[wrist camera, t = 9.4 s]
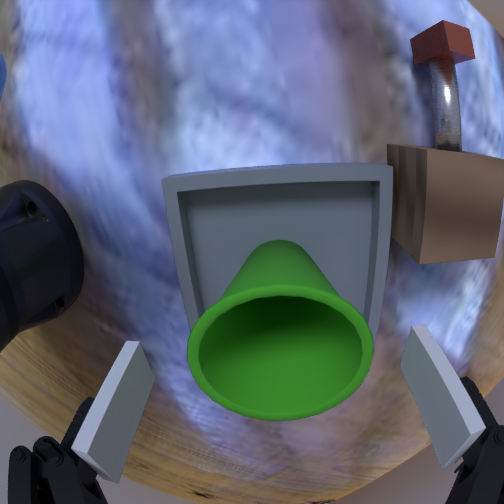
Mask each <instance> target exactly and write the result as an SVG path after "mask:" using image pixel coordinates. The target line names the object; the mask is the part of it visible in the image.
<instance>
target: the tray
mask: <svg viewBox="0 0 504 504" xmlns="http://www.w3.org/2000/svg"><path fill="white" fill-rule="evenodd" d="M162 187H163V194H164V200H165V207H166V213H167V219H168V225H169V231H170V237H171V242H172V248H173V253H174V258H175V263H176V269H177V273H178V278H179V283H180V288H181V293H182V297H183V302H184V306H185V310H186V315H187V319H188V323H189V327H190V332H191V331H192V329H193V326H194V324H195V323H196V322H197V320H198V319H199V318H200V317H201V316H202V315H203V313H204V312H205V311H206V310H207V309H208V308H209V307H211V306H212V305H214V304H215V303H217V302H218V301H219V300H220V298H221V297H222V295H223V294H224V292H225V291H226V289H227V288H228V286H229V285H230V283H231V282H232V280H233V279H234V277H235V276H236V275H237V273H238V272H239V270H240V269H241V267H242V266H243V264H244V263H245V261H246V260H247V258H248V257H249V255H250V254H251V253H252V252H253V250H254V249H255V248H257V247H258V246H259V245H261V244H263V243H265V242H268V241H271V240H278V239H279V240H288V241H291V242H294V243H296V244H298V245H299V246H301V247H302V248H303V249H304V250H305V251H306V252H307V253H308V254H309V255H310V257H311V258H312V259H313V261H314V262H315V263H316V265H317V266H318V267H319V269H320V270H321V271H322V273H323V274H324V275H325V277H326V278H327V279H328V281H329V282H330V283H331V285H332V286H333V287H334V289H335V290H336V292H337V293H338V294H339V296H340V297H341V298H342V299H344V300H346V301H348V302H349V303H351V304H352V305H353V306H354V307H355V308H356V309H357V310H358V311H359V312H360V314H361V315H362V316H363V317H364V318H365V319H366V322H367V324H368V326H369V328H370V330H371V333H372V335H373V346H374V348H375V343H376V338H377V333H378V327H379V322H380V316H381V310H382V304H383V297H384V290H385V283H386V275H387V266H388V257H389V247H390V234H391V220H392V198H393V166H389V165H386V164H382V163H314V164H289V165H270V166H255V167H242V168H231V169H220V170H210V171H201V172H192V173H184V174H176V175H171V176H169V177H166V178H164V179H162Z"/></svg>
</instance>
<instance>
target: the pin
mask: <svg viewBox="0 0 504 504" xmlns="http://www.w3.org/2000/svg"><path fill="white" fill-rule="evenodd" d="M410 42H411V47H412V53H413V60H414V65H419V66H424V67H429V68H430V75H431V84H432V93H433V104H434V119H435V149H439V150H445V151H454V152H462V139H461V115H460V101H459V91H458V82H457V75H456V68H455V64H457V63H460V62H464V61H468V60H471V59H475V54H474V49H473V44H472V39H471V35H470V31H469V29H468V28H465V27H462V26H459V25H457V24H454V23H451V22H447V21H444V20H442V21H440V22H439V23H437V24H435V25H433V26H432V27H430V28H428V29H426V30H425V31H423V32H421V33H420V34H418V35H416V36H415V37H413V38H411V39H410Z"/></svg>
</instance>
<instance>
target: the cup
mask: <svg viewBox="0 0 504 504" xmlns="http://www.w3.org/2000/svg"><path fill="white" fill-rule="evenodd" d="M373 353H374V346H373V335H372V333H371V330H370V328H369V326H368V324H367V322H366V319H365V318H364V317H363V316H362V315H361V314H360V312H359V311H358V310H357V309H356V308H355V307H354V306H353V305H352V304H351V303H349V302H348V301H346V300H344V299H342V298H341V297H340V296H339V294H338V293H337V292H336V290H335V289H334V287H333V286H332V285H331V283H330V282H329V281H328V279H327V278H326V277H325V275H324V274H323V273H322V271H321V270H320V269H319V267H318V266H317V265H316V263H315V262H314V261H313V259H312V258H311V257H310V255H309V254H308V253H307V252H306V251H305V250H304V249H303V248H302V247H301V246H299V245H298V244H296V243H294V242H291V241H288V240H279V239H278V240H271V241H268V242H265V243H263V244H261V245H259V246H258V247H257V248H255V249H254V250H253V252H252V253H251V254H250V255H249V257H248V258H247V260H246V261H245V263H244V264H243V266H242V267H241V269H240V270H239V272H238V273H237V275H236V276H235V277H234V279H233V280H232V282H231V283H230V285H229V286H228V288H227V289H226V291H225V292H224V294H223V295H222V297H221V298H220V300H219V301H218V302H217V303H215V304H214V305H212V306H211V307H209V308H208V309H207V310H206V311H205V312H204V313H203V315H202V316H201V317H200V318H199V319H198V320H197V322H196V323H195V324H194V326H193V329H192V331H191V334H190V336H189V339H188V346H187V358H188V362H189V366H190V369H191V373H192V376H193V377H194V379H195V380H196V382H197V384H198V385H199V387H200V388H201V389H202V390H203V391H204V392H205V393H206V394H207V395H208V396H209V397H210V398H211V399H212V400H213V401H215V402H216V403H218V404H220V405H221V406H223V407H224V408H226V409H228V410H230V411H233V412H235V413H238V414H240V415H243V416H246V417H251V418H256V419H260V420H272V421H286V420H296V419H302V418H306V417H310V416H314V415H317V414H320V413H322V412H324V411H327V410H329V409H331V408H333V407H335V406H337V405H338V404H340V403H341V402H343V401H344V400H345V399H347V398H348V397H350V396H351V394H352V393H353V392H354V391H355V390H356V389H357V388H358V387H359V386H360V385H361V384H362V382H363V380H364V379H365V377H366V375H367V373H368V372H369V369H370V365H371V361H372V357H373Z"/></svg>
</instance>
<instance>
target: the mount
mask: <svg viewBox="0 0 504 504" xmlns="http://www.w3.org/2000/svg"><path fill="white" fill-rule="evenodd" d="M387 165H389V166H393V198H392V220H391V234H390V236H391V237H392V238H393V239H394V240H395V241H396V242H397V243H398V244H399V245H400V246H401V247H402V248H403V249H404V250H405V251H406V252H407V253H408V254H409V255H410V256H411V257H412V258H413V259H414V260H415V261H416V262H417V263H418V264H430V263H442V262H454V261H465V260H476V259H486V258H494V257H495V252H496V247H497V242H498V236H499V230H500V223H501V216H502V208H503V199H504V159H500V158H496V157H491V156H486V155H482V154H476V153H471V152H466V151H462V152H454V151H445V150H439V149H435V148H434V147H423V146H410V145H394V144H387Z"/></svg>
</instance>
